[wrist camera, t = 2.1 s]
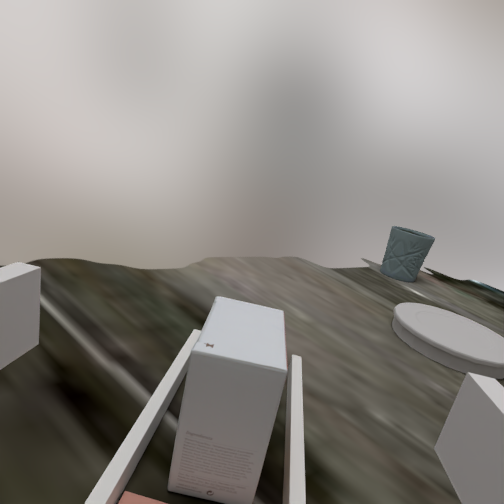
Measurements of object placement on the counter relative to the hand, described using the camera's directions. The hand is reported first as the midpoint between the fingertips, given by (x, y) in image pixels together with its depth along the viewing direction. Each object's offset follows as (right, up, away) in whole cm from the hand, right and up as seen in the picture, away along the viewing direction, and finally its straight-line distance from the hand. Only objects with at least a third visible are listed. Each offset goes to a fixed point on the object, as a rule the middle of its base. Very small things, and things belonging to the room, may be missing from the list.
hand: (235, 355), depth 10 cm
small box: (-2, -12, +14) cm, 19 cm away
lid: (+31, -11, +42) cm, 54 cm away
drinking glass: (+38, -3, +74) cm, 84 cm away
